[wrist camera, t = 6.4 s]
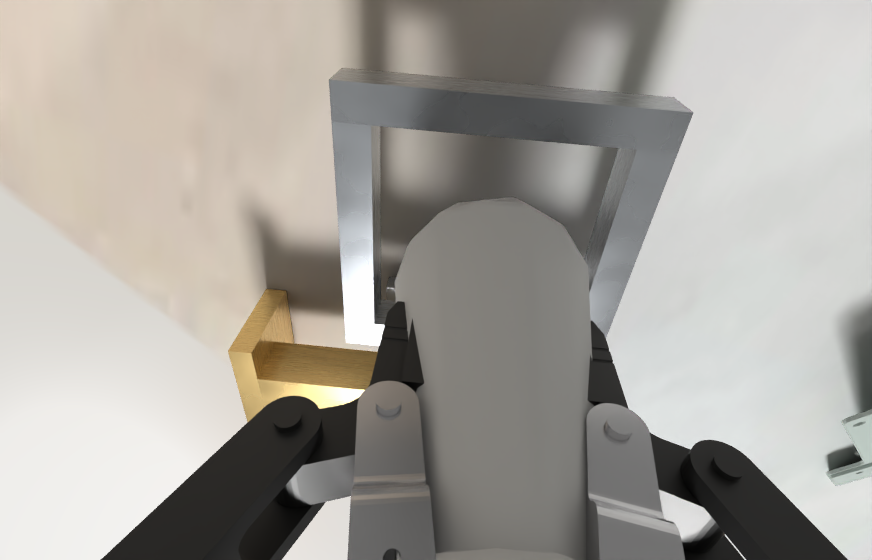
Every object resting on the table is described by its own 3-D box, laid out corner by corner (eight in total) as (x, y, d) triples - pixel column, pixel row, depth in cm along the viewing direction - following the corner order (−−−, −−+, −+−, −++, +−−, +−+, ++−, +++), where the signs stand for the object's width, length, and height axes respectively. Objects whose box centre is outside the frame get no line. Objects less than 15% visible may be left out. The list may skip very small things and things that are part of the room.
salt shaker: (440, 327, 18) (391, 835, 8) (378, 204, 15) (165, 759, 5) (590, 290, 17) (777, 863, 6) (553, 144, 14) (794, 778, 3)
